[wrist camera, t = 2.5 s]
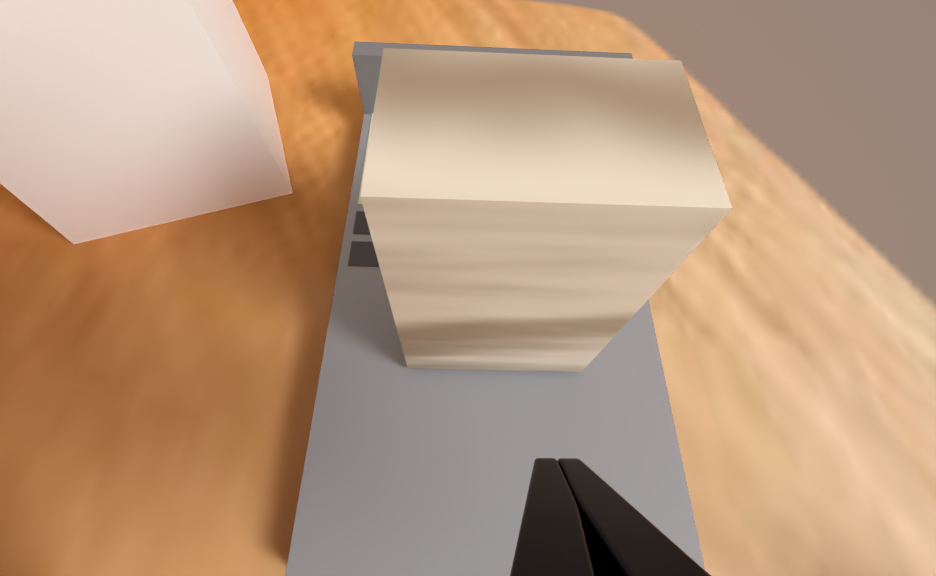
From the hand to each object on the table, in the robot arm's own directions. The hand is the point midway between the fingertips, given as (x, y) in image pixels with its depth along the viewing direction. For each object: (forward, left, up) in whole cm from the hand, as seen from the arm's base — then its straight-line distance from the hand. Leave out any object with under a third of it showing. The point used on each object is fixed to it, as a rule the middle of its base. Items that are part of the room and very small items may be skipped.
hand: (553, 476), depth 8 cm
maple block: (+6, +4, -10) cm, 13 cm away
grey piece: (+8, +6, -12) cm, 16 cm away
